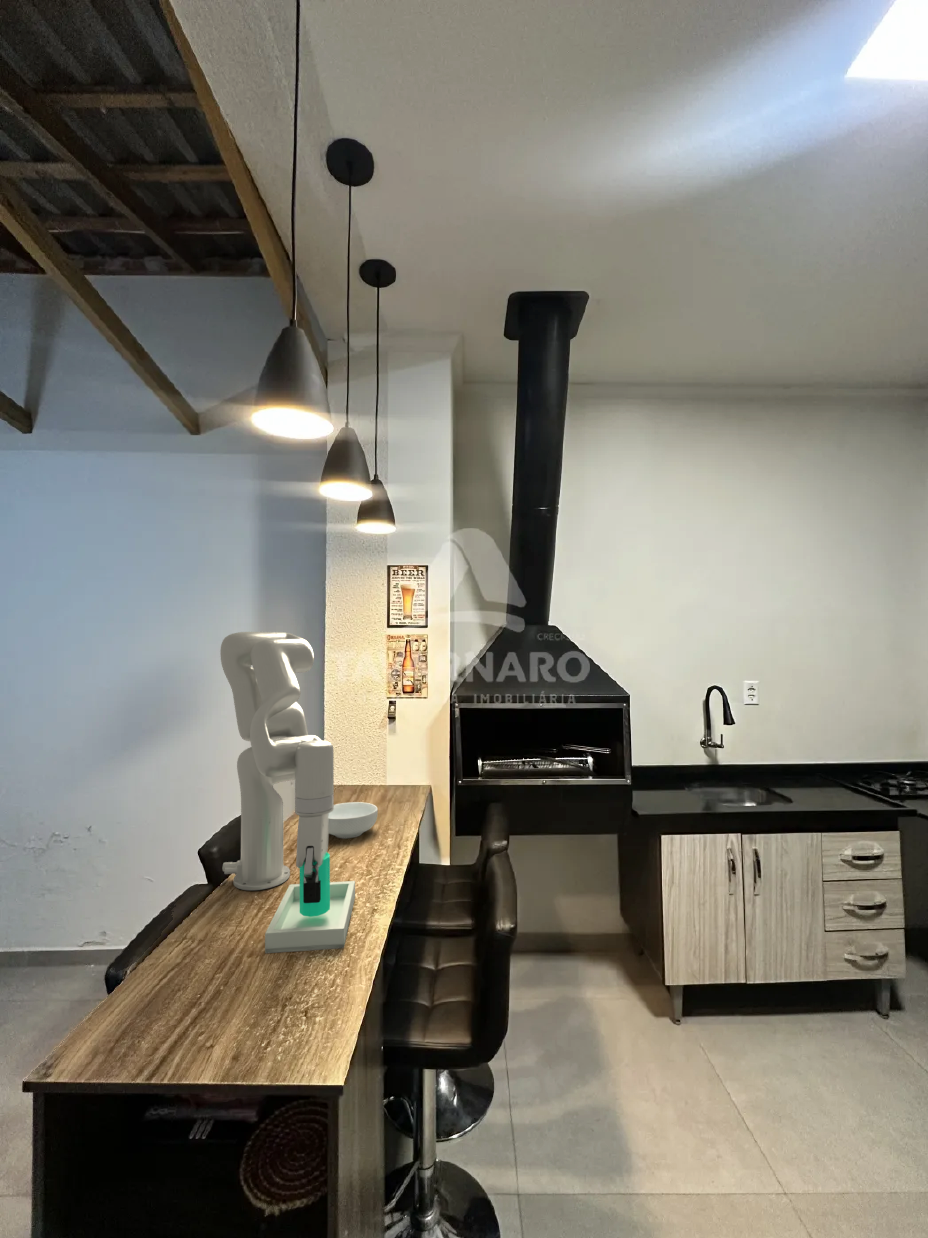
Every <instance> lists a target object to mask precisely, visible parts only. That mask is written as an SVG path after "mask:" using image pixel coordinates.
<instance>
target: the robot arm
mask: <svg viewBox="0 0 928 1238" xmlns="http://www.w3.org/2000/svg"><path fill="white" fill-rule="evenodd" d="M219 652H220V662H221V667H222V670H223V673H224V675H225V677H226V679H227V682H228V683H229V685H230V688H231V689H230V690H231V693H232V697H233V705H234V711H235V716H236V717H235V718H236V723H237V729H238V733H239V735H240V737H241V738H242V739H243V740H244V741H246V742H250V747H247V748H245V749H244V750H243V751H241V752H240V754H239V755H238V757H237V761H236V769H237V776H238V782H239V789H240V859H239V860H237V861H236V862H233V861H228V862H227V861H225V862H223V864H222V872H224V875H230V874H231V875H232V874H234V875H235V876H234V877H233V883H232V884H233V886H234V887H235V888H236V889H240V890H242V891H243V890H244V891H262V890H266V889H270V888H274V887H276V886H279V885H281V884H283V883H284V882H286V881H287V880H288V879H290V876H291V870H290V867H289V866H287V865H284V801H283V798H282V796H281V794H279V793H278V791H277V790H276V789H275V787H274V785H276V784H280V783H285V782H290V781H295V783H294V787H295V788H294V797H295V798H294V800H295V802H294V804H295V805H294V811H295V812H294V813H295V815H296V816H298V823H297V838H296V858H295V859H296V860H295V861H296V862H295V863H296V864H295V866H296V868H298V869H300V867H302V865H303V863H304V861H305V865H304V882H303V902H304V903H318V902H320V900H321V880H320V881H319V866H321V865H322V863H323V860H324V858H325V856H326V852H327V853H328V849H329V836H330V834H329V825H328V813H330V812H332V811H333V809H334V805H335V804H334V798H335V797H334V795H335V794H334V793H335V792H334V788H335V787H334V785H335V784H334V781H335V780H334V777H335V776H334V774H335V773H334V770H335V769H334V760H335V759H334V746H333V744H332V743H331V742H330V741H328V740H322V739H321V738H320V737H319V736H317V735H314V734H309V732H308V726H307V721H306V716H305V713H304V710H303V708H302V707H301V705H300V704H299V703H298V701H299V699H300V697H301V693H302V692H301V689H300V685H299V682H298V679H297V677H296V674H304V673H307V672H309V671H310V670H311V669H312V668H313V666H314V659H315V654H314V651H313V647H312V646H311V644H310V643H309V642H308V641H307V640H306V639H304V638H302V637H301V636H297V635H295V634H294V633H290V632H286V631H285V632H284V631H240V632H234V633H230V634H228V635H227V636H225V637H224V638H223V639H222V642H221V645H220V651H219ZM313 862H317V864H316V865H313ZM313 869H316V873H315V871H313Z"/></svg>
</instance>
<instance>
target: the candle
mask: <svg viewBox="0 0 928 1238" xmlns="http://www.w3.org/2000/svg"><path fill="white" fill-rule="evenodd" d="M330 856H331V855H330V853H329V852H328V851H327V852H326V856H325V858H324V860H323V863H322V865H321V866H319V881H320V880H321V900H320V902H318V903H304V902H303V882H304V865H305V861H304V863H303V865H302V867H300V868H299V884H300V914H302V915H303V916H308V917H312V916H319V915H322V914H324V913H326V912H327V911H328V910H330V882H331V857H330ZM316 864H317V862H313V865H316ZM313 871H315V873H316V869H313Z"/></svg>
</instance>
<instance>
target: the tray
mask: <svg viewBox="0 0 928 1238" xmlns="http://www.w3.org/2000/svg"><path fill="white" fill-rule="evenodd" d="M355 900H356V880H347V881H330V910H328V911H327V912H326V913H324V914H322V915H319V916H312V917H308V916H303V915H302V914H300V883H293V884H289V885H288V888H287V890H286V891H285V893H284V895H283V897H282V899H281V901H280V903H279V905H278V907H277V909H276V911H275V913H274V915H273V917H272V919H271V921H270V923H269V925H268V927H267V929H266V931H265V933H264V934H265V936H264V953H265V954H271V953H272V954H274V953H291V952H304V951H306V952H307V951H319V950H321V951H322V950H333V949H334V950H335V949H344V948H345V944H346V939H347V937H348V931H349V926H350V922H351V917H352V913H353V908H354V904H355Z"/></svg>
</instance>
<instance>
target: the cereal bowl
mask: <svg viewBox="0 0 928 1238" xmlns="http://www.w3.org/2000/svg"><path fill="white" fill-rule="evenodd" d="M378 811H379V810H378V807H377V806H376V805H375V804H373V803H369V802H363V801H360V802H359V801H351V802H341V803H336V804H334V809H333V811H332V812H330V813H328V825H329V835H331V836H332V835H333V836H335V837H336V838H338V839H353V838H357V837H360V836H361V835H362V834H363V833H365V832H367V831H369V830H371V828H372V827H373V826H374V825H375V824H376V822H377V820H378V819H377V818H378V815H379V814H378Z"/></svg>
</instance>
